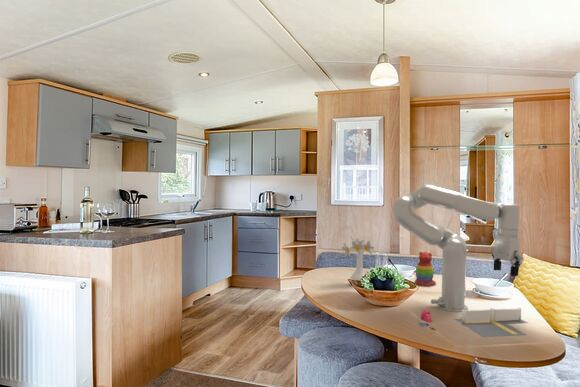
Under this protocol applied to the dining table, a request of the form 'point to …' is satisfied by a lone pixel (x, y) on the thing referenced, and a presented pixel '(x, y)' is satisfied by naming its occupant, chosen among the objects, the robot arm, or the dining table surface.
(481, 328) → the fence base
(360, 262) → the flower vase
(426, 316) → the toy pieces
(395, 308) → the dining table surface
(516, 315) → the fence gate
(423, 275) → the stacking bear
